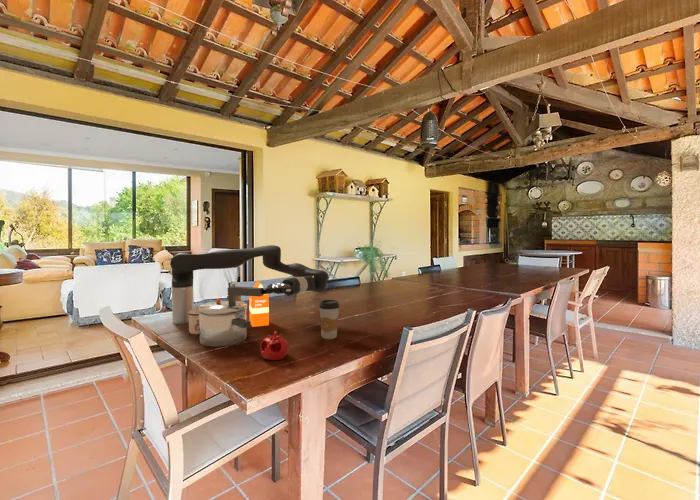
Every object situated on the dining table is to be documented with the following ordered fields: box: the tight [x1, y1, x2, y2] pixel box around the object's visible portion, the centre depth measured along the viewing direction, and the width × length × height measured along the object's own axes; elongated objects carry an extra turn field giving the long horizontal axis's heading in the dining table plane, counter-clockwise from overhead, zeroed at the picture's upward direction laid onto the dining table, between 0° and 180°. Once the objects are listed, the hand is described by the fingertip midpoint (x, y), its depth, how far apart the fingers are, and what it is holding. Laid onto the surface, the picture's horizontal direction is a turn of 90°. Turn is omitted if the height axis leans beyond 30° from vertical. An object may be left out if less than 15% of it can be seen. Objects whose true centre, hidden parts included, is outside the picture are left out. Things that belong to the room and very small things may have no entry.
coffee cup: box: [318, 299, 340, 340], centre depth 144 cm, size 8×8×15 cm
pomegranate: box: [259, 330, 290, 361], centre depth 122 cm, size 10×10×9 cm
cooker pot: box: [199, 309, 252, 347], centre depth 139 cm, size 26×18×12 cm
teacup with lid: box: [188, 304, 201, 335], centre depth 152 cm, size 12×9×12 cm
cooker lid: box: [198, 285, 265, 315], centre depth 140 cm, size 26×19×9 cm
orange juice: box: [248, 280, 270, 328], centre depth 164 cm, size 8×9×20 cm
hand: (263, 291), depth 139 cm, fingers closed
